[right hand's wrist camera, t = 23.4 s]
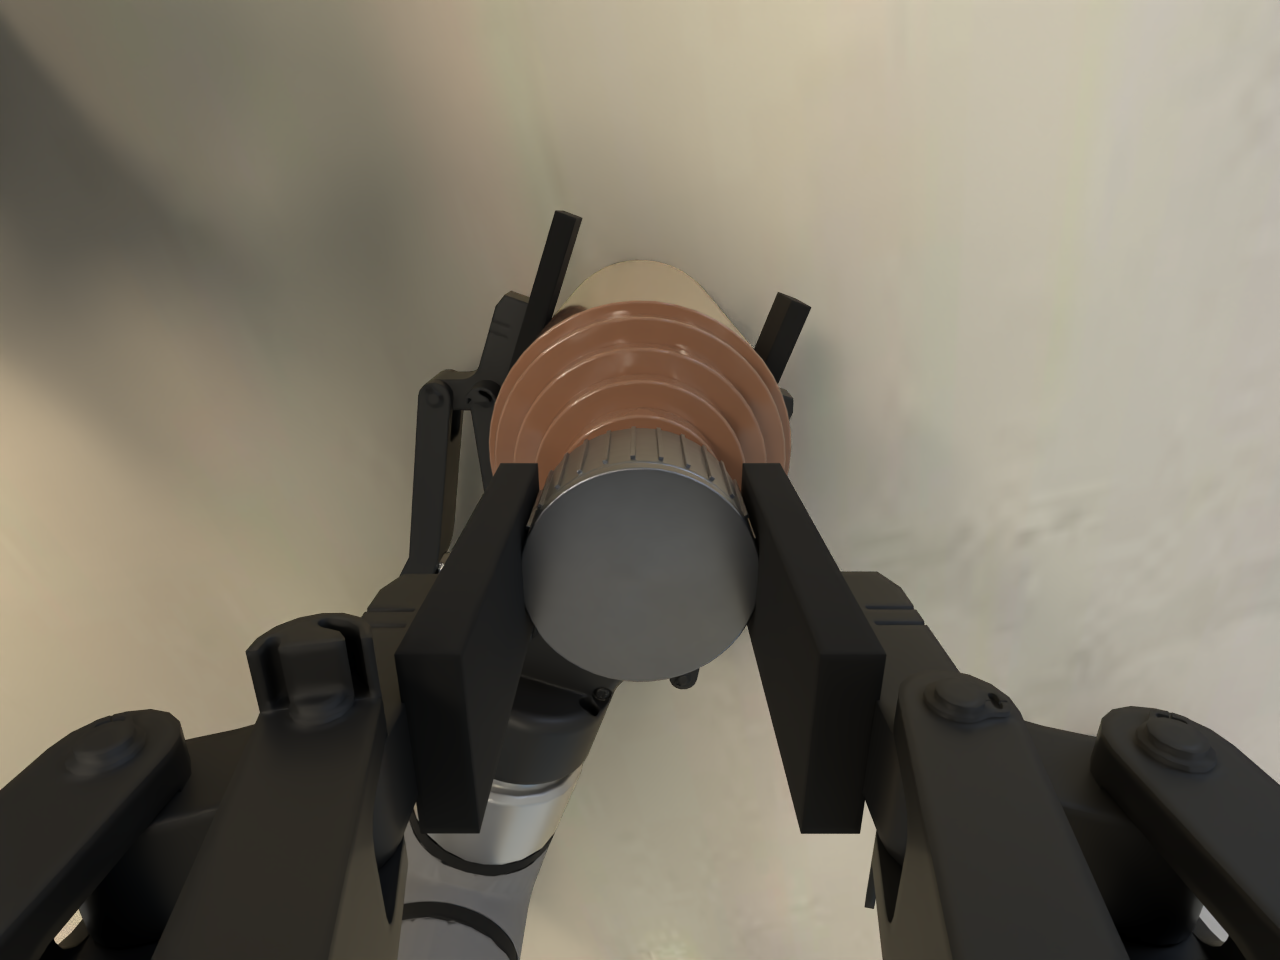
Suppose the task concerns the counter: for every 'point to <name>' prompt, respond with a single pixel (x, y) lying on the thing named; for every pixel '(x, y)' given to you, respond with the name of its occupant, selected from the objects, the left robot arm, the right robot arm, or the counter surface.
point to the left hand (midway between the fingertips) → (683, 258)
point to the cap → (640, 557)
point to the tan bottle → (640, 375)
